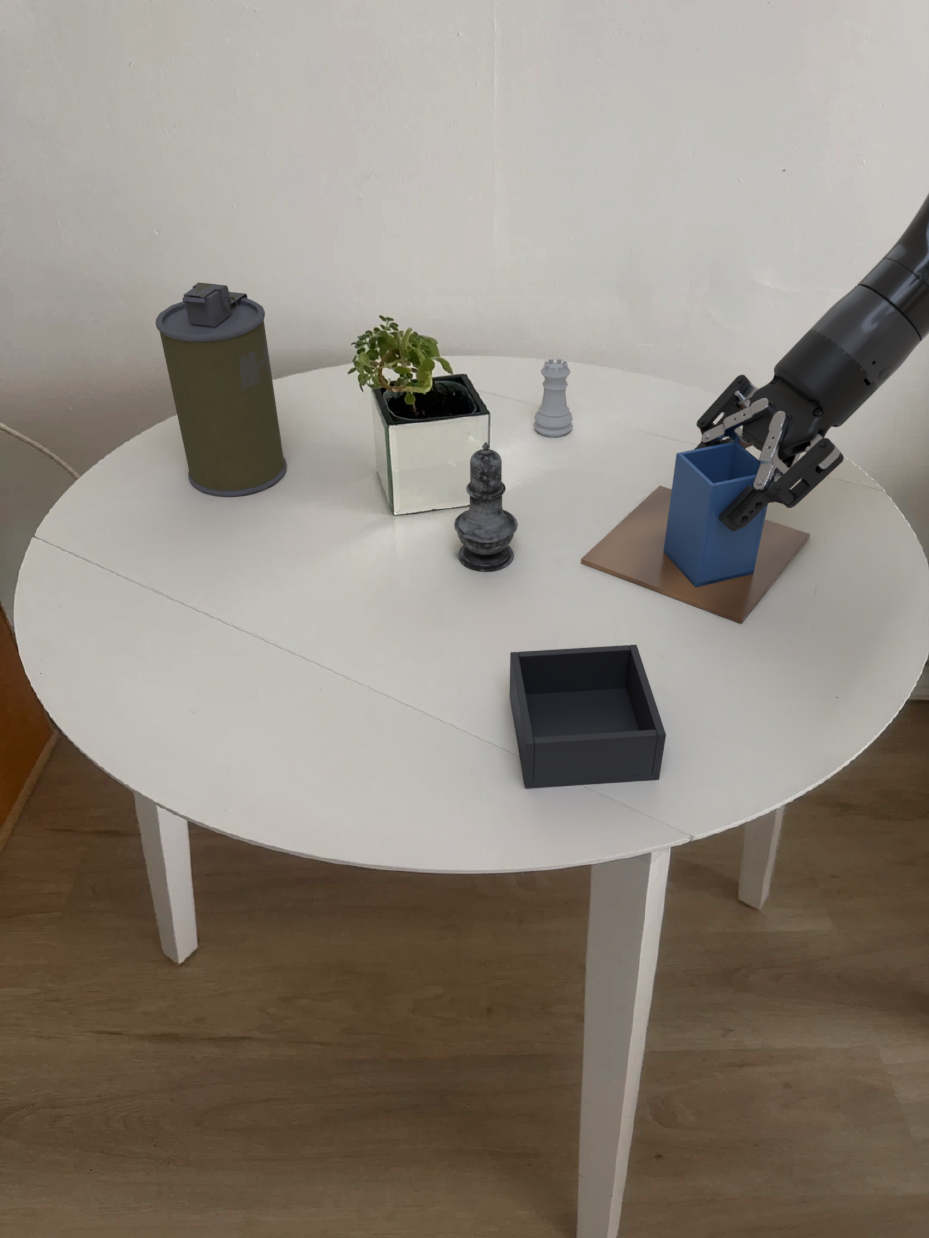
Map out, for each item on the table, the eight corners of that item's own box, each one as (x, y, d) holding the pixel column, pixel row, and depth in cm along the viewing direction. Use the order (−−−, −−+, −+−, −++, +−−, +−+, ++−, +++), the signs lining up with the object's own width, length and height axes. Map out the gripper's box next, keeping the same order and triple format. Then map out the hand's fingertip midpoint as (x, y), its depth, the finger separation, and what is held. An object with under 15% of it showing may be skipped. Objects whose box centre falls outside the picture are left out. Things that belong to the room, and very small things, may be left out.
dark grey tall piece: (446, 567, 93) (443, 454, 85) (465, 534, 97) (463, 423, 90) (507, 578, 91) (509, 463, 84) (523, 543, 96) (526, 431, 88)
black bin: (631, 688, 80) (636, 644, 77) (659, 779, 72) (666, 734, 69) (509, 695, 79) (510, 651, 76) (524, 788, 71) (526, 743, 69)
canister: (259, 503, 102) (227, 314, 90) (170, 488, 105) (127, 302, 92) (304, 453, 110) (281, 273, 98) (220, 440, 113) (187, 263, 100)
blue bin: (719, 539, 95) (736, 441, 88) (753, 574, 90) (774, 473, 84) (663, 551, 93) (676, 453, 87) (695, 587, 89) (711, 486, 82)
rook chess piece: (579, 425, 114) (583, 360, 109) (561, 442, 111) (564, 375, 106) (545, 416, 116) (547, 351, 111) (526, 432, 113) (528, 366, 108)
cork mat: (809, 538, 96) (810, 533, 95) (741, 624, 86) (742, 619, 85) (659, 489, 103) (659, 485, 103) (580, 563, 93) (580, 558, 93)
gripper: (775, 300, 86) (640, 444, 90) (882, 366, 75) (723, 525, 80) (815, 349, 91) (685, 484, 95) (921, 418, 80) (769, 566, 84)
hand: (703, 502), depth 87 cm, fingers open, 7 cm apart
